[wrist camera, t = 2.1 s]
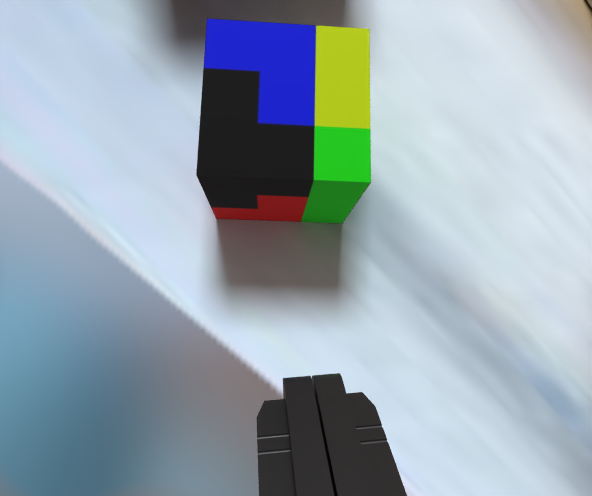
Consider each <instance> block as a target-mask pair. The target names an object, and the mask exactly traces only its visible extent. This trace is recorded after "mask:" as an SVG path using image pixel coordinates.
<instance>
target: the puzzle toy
mask: <svg viewBox="0 0 592 496" xmlns="http://www.w3.org/2000/svg"><path fill="white" fill-rule="evenodd" d="M197 177H198V179H199V182H200V184H201V186H202V188H203V190H204V193H205V195H206V197H207V199H208V201H209V204H210V206H211V208H212V210H213V213H214V215H215V217H216V219H241V220H267V221H294V222H321V223H343V222H344V220H345V219H346V217H347V216H348V214H349V213H350V212H351V210H352V209H353V207H354V206H355V204H356V203H357V201H358V200H359V199H360V197H361V196H362V194H363V193H364V191H365V190H366V189H367V187H368V186H369V184H370V183H371V150H370V46H369V29H364V28H348V27H332V26H316V25H301V24H285V23H269V22H253V21H238V20H222V19H207V26H206V41H205V56H204V71H203V86H202V100H201V115H200V130H199V145H198V160H197Z"/></svg>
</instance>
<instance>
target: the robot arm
mask: <svg viewBox="0 0 592 496" xmlns="http://www.w3.org/2000/svg"><path fill="white" fill-rule="evenodd" d="M587 1H588V3H589V4H590V6H591V7H592V0H587ZM283 396H284V399H281V400H269V401H264V403H263V405H262V408H261V409H260V411H259V414H258V416H257V443H258V474H259V496H407V495H406V492H405V489H404V486H403V483H402V480H401V478H400V475H399V472H398V469H397V466H396V463H395V461H394V458H393V455H392V452H391V449H390V446H389V444H388V442H387V438H386V435H385V432H384V430H383V428H382V424H381V421H380V418H379V415H378V413H377V410H376V407H375V406H374V405H373V403H372V402H371V401H370V400H369V399H368V398H367V397H366V396H365V395H364V394H363V393H362V392H359V393H347V394H346V391H345V387H344V384H343V380H342V377H341V375H340V373H338V374H326V375H314V376H312V379H311V376H304V377H292V378H283Z"/></svg>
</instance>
